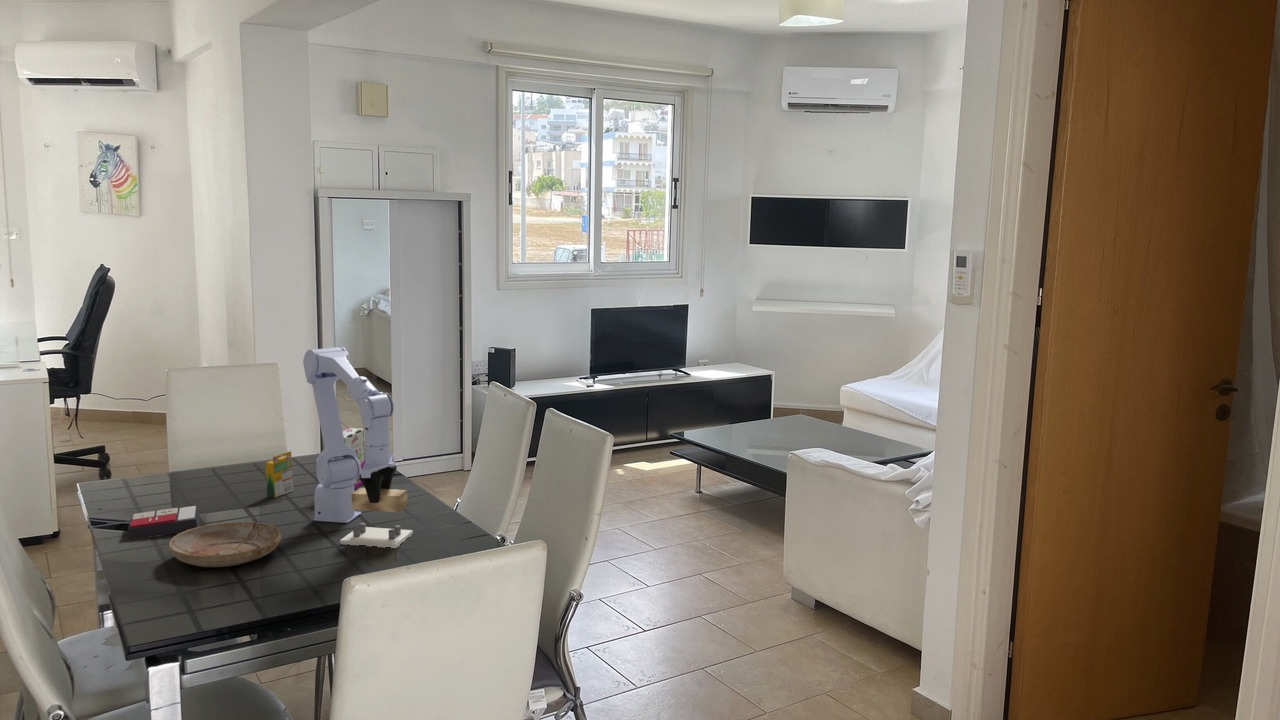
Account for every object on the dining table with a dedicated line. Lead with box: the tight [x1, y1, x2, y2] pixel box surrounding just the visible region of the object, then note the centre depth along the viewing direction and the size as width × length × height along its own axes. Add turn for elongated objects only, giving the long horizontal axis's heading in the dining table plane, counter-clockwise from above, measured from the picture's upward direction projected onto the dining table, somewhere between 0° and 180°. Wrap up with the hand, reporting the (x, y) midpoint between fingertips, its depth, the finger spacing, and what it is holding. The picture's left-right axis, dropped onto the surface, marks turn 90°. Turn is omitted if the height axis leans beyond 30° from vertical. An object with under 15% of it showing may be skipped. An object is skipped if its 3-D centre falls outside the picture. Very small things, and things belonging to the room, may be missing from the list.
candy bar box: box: [330, 427, 366, 491], centre depth 267 cm, size 11×5×16 cm, turn 168°
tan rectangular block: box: [351, 487, 409, 513], centre depth 228 cm, size 12×5×4 cm, turn 81°
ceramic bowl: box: [168, 521, 282, 568], centre depth 214 cm, size 23×24×5 cm
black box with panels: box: [127, 505, 200, 540], centre depth 233 cm, size 11×4×15 cm
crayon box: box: [265, 450, 294, 499], centre depth 262 cm, size 7×3×12 cm, turn 159°
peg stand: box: [339, 522, 414, 549], centre depth 227 cm, size 14×10×3 cm
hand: (379, 499), depth 228 cm, fingers closed on tan rectangular block, 5 cm apart
